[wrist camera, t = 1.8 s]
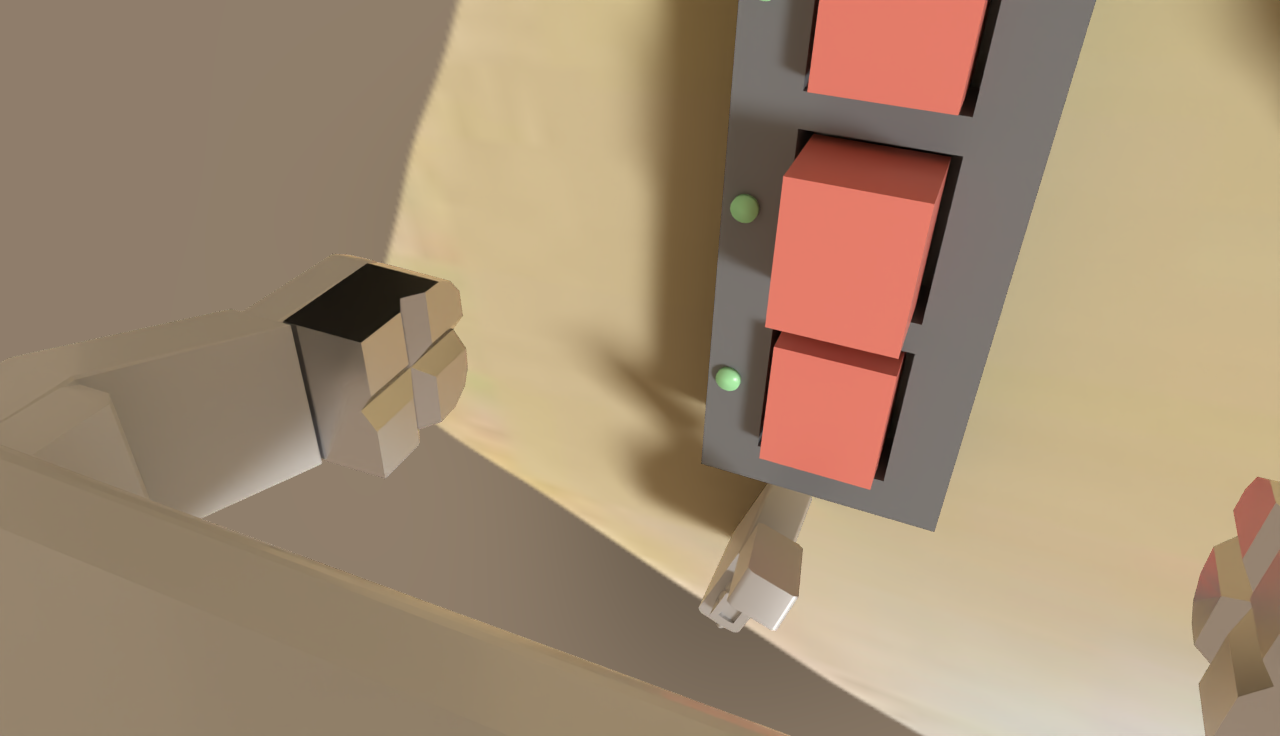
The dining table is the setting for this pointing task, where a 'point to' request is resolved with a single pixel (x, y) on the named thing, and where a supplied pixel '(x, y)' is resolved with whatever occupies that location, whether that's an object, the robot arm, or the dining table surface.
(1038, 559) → the dining table surface
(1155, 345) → the dining table surface
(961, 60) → the button
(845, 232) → the button
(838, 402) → the button
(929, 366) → the power strip
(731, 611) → the lighter
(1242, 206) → the dining table surface
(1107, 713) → the dining table surface
